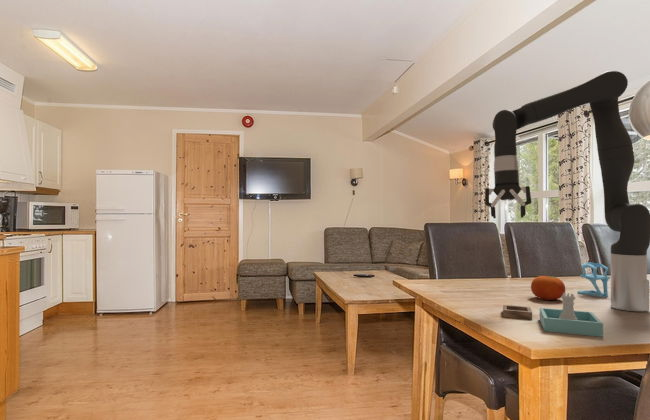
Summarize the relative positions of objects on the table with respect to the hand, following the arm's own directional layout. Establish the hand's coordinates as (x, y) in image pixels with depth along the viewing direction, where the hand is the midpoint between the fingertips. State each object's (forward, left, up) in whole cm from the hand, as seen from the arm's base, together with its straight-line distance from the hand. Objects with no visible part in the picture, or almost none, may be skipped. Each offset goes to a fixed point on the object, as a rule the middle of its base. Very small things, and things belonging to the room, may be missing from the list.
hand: (508, 217), depth 139 cm
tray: (-14, +28, -29) cm, 42 cm away
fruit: (-13, -11, -29) cm, 34 cm away
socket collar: (-2, +19, -29) cm, 34 cm away
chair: (-30, -27, -29) cm, 50 cm away
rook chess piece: (-14, +27, -28) cm, 41 cm away
